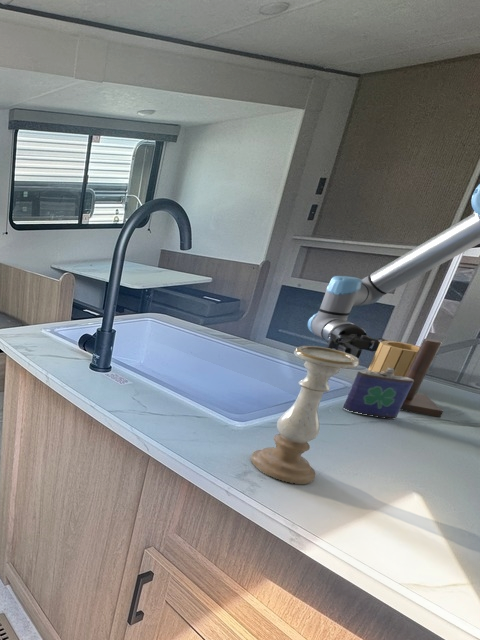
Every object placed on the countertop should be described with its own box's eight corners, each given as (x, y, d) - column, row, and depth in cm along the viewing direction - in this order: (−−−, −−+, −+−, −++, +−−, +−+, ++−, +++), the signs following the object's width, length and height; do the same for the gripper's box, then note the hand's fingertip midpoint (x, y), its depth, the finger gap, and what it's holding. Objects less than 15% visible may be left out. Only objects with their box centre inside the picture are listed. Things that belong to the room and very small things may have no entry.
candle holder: (318, 470, 71) (369, 355, 62) (307, 492, 65) (362, 369, 57) (258, 448, 76) (297, 340, 68) (243, 467, 71) (284, 351, 62)
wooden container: (402, 381, 110) (420, 344, 106) (413, 393, 103) (433, 354, 99) (360, 374, 114) (376, 338, 110) (369, 385, 107) (386, 347, 103)
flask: (392, 415, 91) (415, 369, 87) (399, 421, 89) (423, 374, 84) (340, 407, 94) (359, 361, 90) (345, 412, 92) (365, 366, 87)
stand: (422, 400, 99) (454, 339, 93) (440, 417, 91) (476, 351, 85) (368, 390, 104) (395, 331, 98) (380, 405, 96) (410, 342, 90)
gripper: (388, 352, 126) (441, 378, 107) (293, 342, 132) (327, 365, 113) (399, 327, 123) (456, 350, 104) (301, 318, 129) (338, 338, 110)
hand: (389, 358), depth 108 cm, fingers open, 13 cm apart
